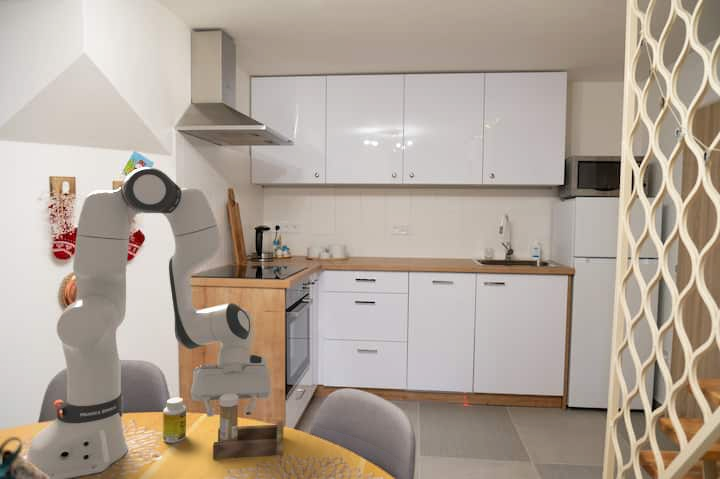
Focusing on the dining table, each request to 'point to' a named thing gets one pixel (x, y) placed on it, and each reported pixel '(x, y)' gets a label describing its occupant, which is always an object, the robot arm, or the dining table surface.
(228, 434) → the spice jar
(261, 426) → the guide rail
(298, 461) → the dining table surface
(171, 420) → the supplement bottle
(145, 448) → the dining table surface
